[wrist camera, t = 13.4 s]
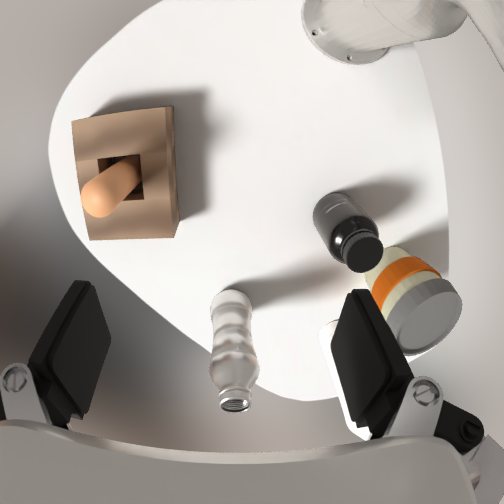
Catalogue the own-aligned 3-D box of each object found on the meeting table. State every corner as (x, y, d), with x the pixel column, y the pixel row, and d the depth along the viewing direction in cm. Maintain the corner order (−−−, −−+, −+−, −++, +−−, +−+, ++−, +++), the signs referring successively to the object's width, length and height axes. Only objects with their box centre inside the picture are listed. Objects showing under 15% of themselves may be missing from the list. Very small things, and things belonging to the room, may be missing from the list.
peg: (118, 156, 35) (77, 181, 24) (145, 153, 35) (112, 177, 25) (121, 184, 37) (84, 218, 26) (148, 182, 37) (118, 216, 27)
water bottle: (314, 327, 52) (353, 448, 31) (347, 314, 52) (398, 430, 30) (325, 353, 57) (358, 461, 35) (354, 341, 56) (396, 446, 34)
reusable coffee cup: (421, 275, 49) (464, 326, 36) (367, 308, 51) (399, 368, 38) (407, 223, 43) (461, 273, 30) (345, 261, 46) (383, 324, 33)
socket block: (88, 117, 31) (71, 121, 27) (173, 106, 32) (165, 107, 28) (102, 224, 39) (89, 240, 35) (179, 221, 40) (173, 237, 36)
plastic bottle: (202, 300, 47) (194, 406, 30) (231, 276, 45) (236, 384, 28) (230, 321, 50) (234, 423, 33) (259, 299, 48) (275, 404, 31)
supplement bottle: (326, 183, 39) (361, 217, 29) (362, 204, 41) (402, 241, 31) (302, 224, 42) (326, 269, 31) (339, 241, 44) (370, 287, 33)
